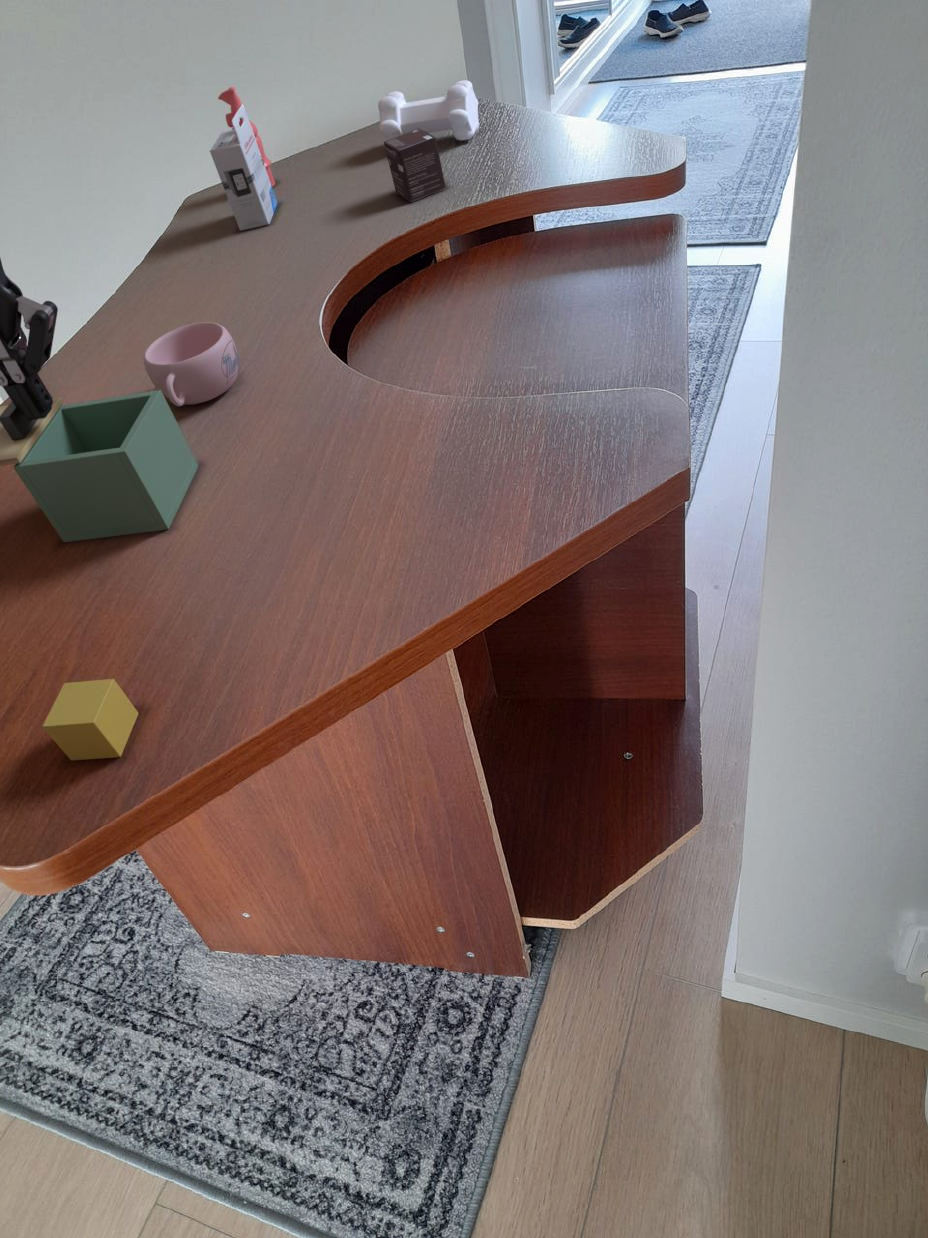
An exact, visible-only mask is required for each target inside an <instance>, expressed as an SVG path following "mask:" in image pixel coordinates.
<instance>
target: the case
mask: <svg viewBox="0 0 928 1238" xmlns="http://www.w3.org/2000/svg"><path fill="white" fill-rule="evenodd" d="M180 427H181V426H180V425H179V423H178V422H177V419H176V418H175V415H174V413H173V412H172V409H171V408H170V405H169V404H168V402H167V400H166V396H165V395H163V393H162V391H161V390H158V389H157V390H151V391H145V392H139V393H132V394H126V395H120V396H114V397H109V398H108V397H107V398H99V399H94V400H88V401H82V402H76V403H69V404H68V403H67V404H62V405H61V406H60V408H59V409H58V411H57V412H56V413H55V415H54V416H53V418H52V419H51V421H50V422H49V423H48V425H47V426H46V428H45V429H44V430H43V432H42V433H41V435H40V436H39V437H38V439H37V440H36V442H35V443H34V445H33V446H32V447H31V449H30V450H29V452H28V453H27V454H26V456H25V457H24V459H23V460H22V461H21V463H17V464H14V466H13V469H14V471H15V473H16V474H17V476H18V477H19V478H20V480H21V482H22V483H23V485H24V486H25V487H26V489H27V490H28V491H29V493H30V495H31V496H32V498H33V499H34V501H35V502H36V504H37V505H38V507H39V509H40V510H41V511H42V512H43V515H44V516H45V517H46V519H47V520H48V521H49V523H50V524H51V526H52V527H53V529H54V531H55V532H56V533H57V535H58V536H59V538H60V539H61V541H62V542H63V543H70V542H71V543H72V542H78V541H86V540H87V541H88V540H94V539H103V538H110V537H119V536H127V535H135V534H143V533H151V532H158V531H167V530H170V528H171V525H172V523H173V521H174V519H175V517H176V515H177V513H178V511H179V508H180V507H181V505H182V502H183V500H184V498H185V497H186V494H187V492H188V490H189V488H190V485H191V483H192V481H193V479H194V478H195V474H196V473H197V471H198V468H199V464H198V461H197V459H196V457H195V456H194V454H193V452H192V449H191V447H190V445H189V444H188V441H187V440H186V437H185V436H184V434H183V432H182V429H181V428H180Z"/></svg>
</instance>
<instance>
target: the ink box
mask: <svg viewBox="0 0 928 1238" xmlns="http://www.w3.org/2000/svg"><path fill="white" fill-rule="evenodd" d="M241 118H242V120H243V124H242V125H241V127H240V125H239V122H240V119H241ZM249 120H250V119H249V116H248V113H247V110H246V108H245V105H244V104H243V103H242V104H241V106H240V108H239V109H238V111H237V112H236V114H235V116H234V117H233V119H232V125H233V127H232V128H234V129H233V130H232V129H229V130H225V131H224V130H223V131H221V133H220V134H219V136H218V138H216V140H215V142H214V143H213V145H212V147H211V149H210V150H209V154H210V156H211V158H212V161H213V163H214V166H215V168H216V172H217V173H218V176H219V179H220V183H221V184H222V187H223V190H224V192H225V194H226V198H227V200H228V203H229V205H230V208H231V210H232V213H233V216H234V219H235V221H236V223H237V226H238V228H239V231H246V230H251V229H255V228H261V227H264V226H269V225H270V224H271V221H272V219H273V216H274V214H275V211H276V209H277V207H278V201H277V197H276V194H275V192H274V189H273V187H272V186H271V183H270V180H269V177H268V174H267V171H266V168H265V165H264V162H263V159H262V156H261V153H260V150H259V148H258V145H257V142H256V139H255V136H254V133H253V130H252V127H251V124H250V121H251V120H250V121H249Z"/></svg>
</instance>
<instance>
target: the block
mask: <svg viewBox="0 0 928 1238" xmlns="http://www.w3.org/2000/svg"><path fill="white" fill-rule="evenodd" d="M49 710H50V711H49V713H48V714H47V716H46V718H45V720H44V722H43V724H42V728H43V730H44V731H45V732H46V733H47V734H48V735H49V736H50V738H51V739H52V740H53V741H54V743H55V744H56V745H57V746H58V748H60V749H61V750H62V752H63V753H64V754H65V756H66V757H68V759H69V760H70V761H83V760H84V761H85V760H97V759H98V760H99V759H112V758H113V759H114V758H121V757H122V755H123V753H124V750H125V748H126V745H127V743H128V741H129V738H130V736H131V733H132V730H133V728H134V726H135V723H136V722H137V718H138V716H139V712H138V710H137V708H136V707H135V706H134V705H133V704H132V701H130V699H129V698H128V696H127V695H126V693H124V691H123V690H122V688H121V687H120V685H119V684H118V683H117V681H116V680H115V679H114V678H107V679H106V678H105V679H95V680H94V679H93V680H84V681H73V682H72V681H71V682H64V683H63V684H62V687H61V689H60V691H59V693H58V694H57V697H56V699H55V701H54V702H53V704H52V706H51V709H49Z"/></svg>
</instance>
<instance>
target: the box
mask: <svg viewBox="0 0 928 1238" xmlns="http://www.w3.org/2000/svg"><path fill="white" fill-rule="evenodd" d="M383 145H384V148H385V153H386V157H387V158H386V159H387V162H388V165H389V170H390V175H391V178H392V182H393V186H394V190H395V193H396V194H397V195H398V196H400V197H401V198H403V200H406V201H407V202H409V203H413V202H417V201H419V200H421V199H423V198H426V197H428V196H431V195H433V194H437V193H439V192H443V191H445V190H446V189H447V185H446V182H445V176H444V172H443V166H442V162H441V157H440V152H439V146H438V142H437V137H436V136H435V135H433V134H430V132H429V133H428V132H426V131H423V130H421V129H416V130H413V131H411V132H408V133H406V134H403V135H400V136H398V137H395V138H392V139H390V140H387V141H386V140H384V141H383Z"/></svg>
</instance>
